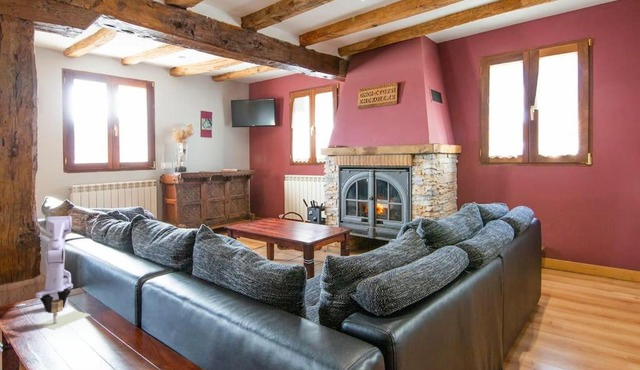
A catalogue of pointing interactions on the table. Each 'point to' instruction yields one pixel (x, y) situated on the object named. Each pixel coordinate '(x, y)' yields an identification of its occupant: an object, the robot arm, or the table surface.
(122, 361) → the table surface
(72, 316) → the board
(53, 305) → the bead
